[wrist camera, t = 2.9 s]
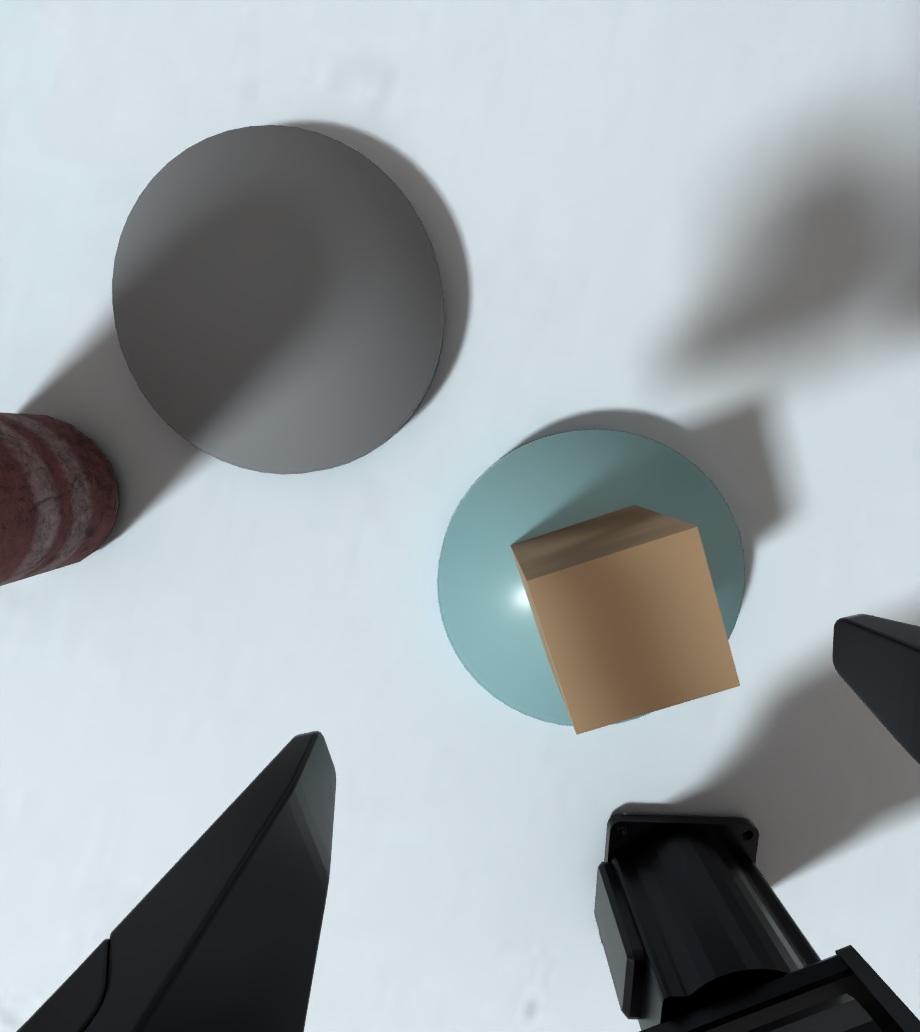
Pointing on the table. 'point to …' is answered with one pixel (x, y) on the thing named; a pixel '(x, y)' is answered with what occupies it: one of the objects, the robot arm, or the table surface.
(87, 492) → the can
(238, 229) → the charcoal mat
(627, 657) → the walnut block
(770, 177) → the table surface
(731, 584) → the teal mat
